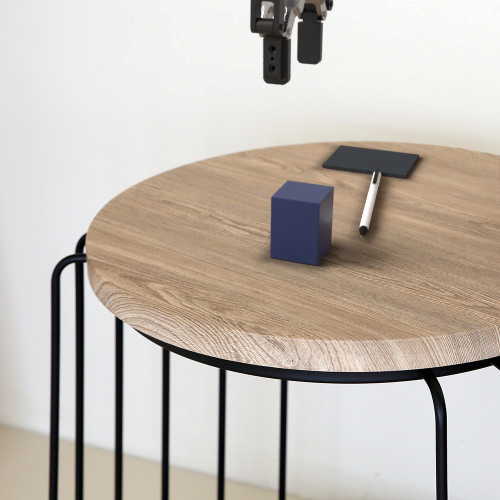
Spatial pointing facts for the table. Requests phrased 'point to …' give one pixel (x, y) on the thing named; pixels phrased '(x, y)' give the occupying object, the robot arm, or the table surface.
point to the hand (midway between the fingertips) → (293, 72)
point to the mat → (371, 161)
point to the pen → (370, 203)
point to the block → (301, 222)
